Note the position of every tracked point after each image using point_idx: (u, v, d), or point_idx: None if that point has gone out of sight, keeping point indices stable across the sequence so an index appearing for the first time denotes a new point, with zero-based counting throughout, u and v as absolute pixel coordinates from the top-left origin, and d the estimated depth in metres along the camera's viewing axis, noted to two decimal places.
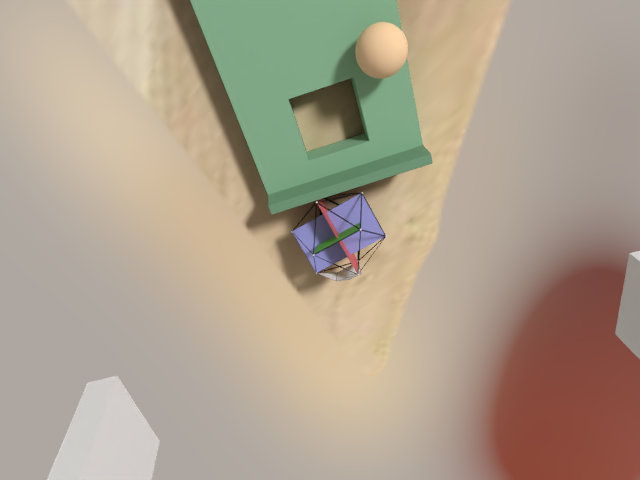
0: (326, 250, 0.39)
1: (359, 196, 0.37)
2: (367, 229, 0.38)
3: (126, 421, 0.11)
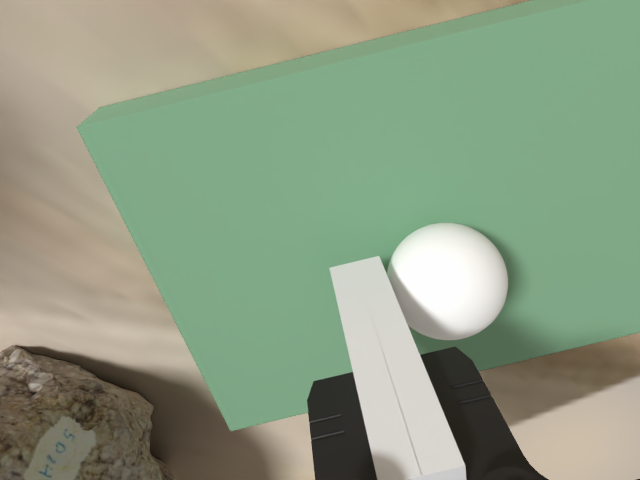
0: None
1: None
2: None
3: None
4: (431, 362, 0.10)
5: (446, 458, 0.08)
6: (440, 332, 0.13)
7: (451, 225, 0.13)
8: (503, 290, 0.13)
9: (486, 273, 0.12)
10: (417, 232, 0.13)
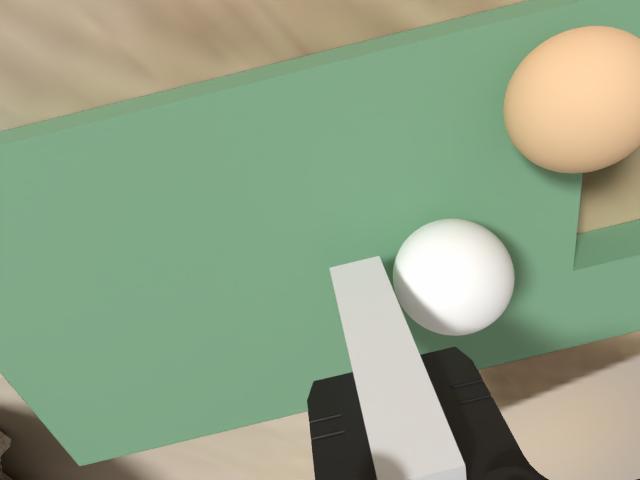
0: None
1: None
2: None
3: None
4: (431, 362, 0.10)
5: (446, 458, 0.08)
6: None
7: (449, 239, 0.12)
8: (393, 280, 0.14)
9: (399, 252, 0.14)
10: (475, 228, 0.13)
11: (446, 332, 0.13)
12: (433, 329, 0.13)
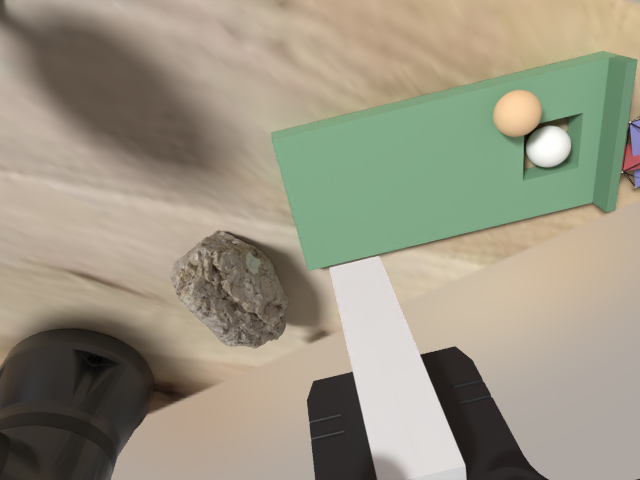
0: None
1: (632, 125, 0.38)
2: None
3: None
4: (431, 362, 0.10)
5: (446, 458, 0.08)
6: None
7: (542, 128, 0.39)
8: None
9: None
10: (552, 132, 0.38)
11: None
12: None
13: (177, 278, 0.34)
